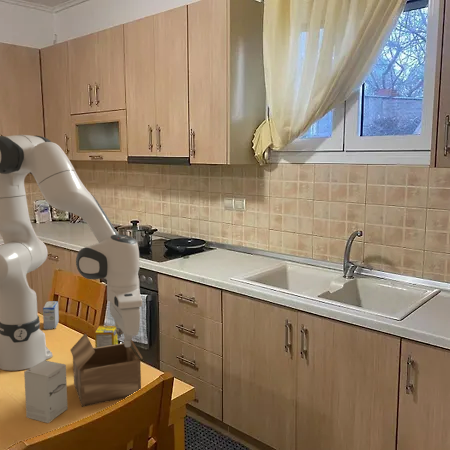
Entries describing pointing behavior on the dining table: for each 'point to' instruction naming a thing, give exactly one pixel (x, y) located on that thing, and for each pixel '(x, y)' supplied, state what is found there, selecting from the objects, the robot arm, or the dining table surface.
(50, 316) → the medicine box
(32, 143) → the robot arm
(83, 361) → the flap
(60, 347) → the dining table surface
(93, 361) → the carton
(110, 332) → the supplement box
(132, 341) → the flap
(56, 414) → the supplement box
